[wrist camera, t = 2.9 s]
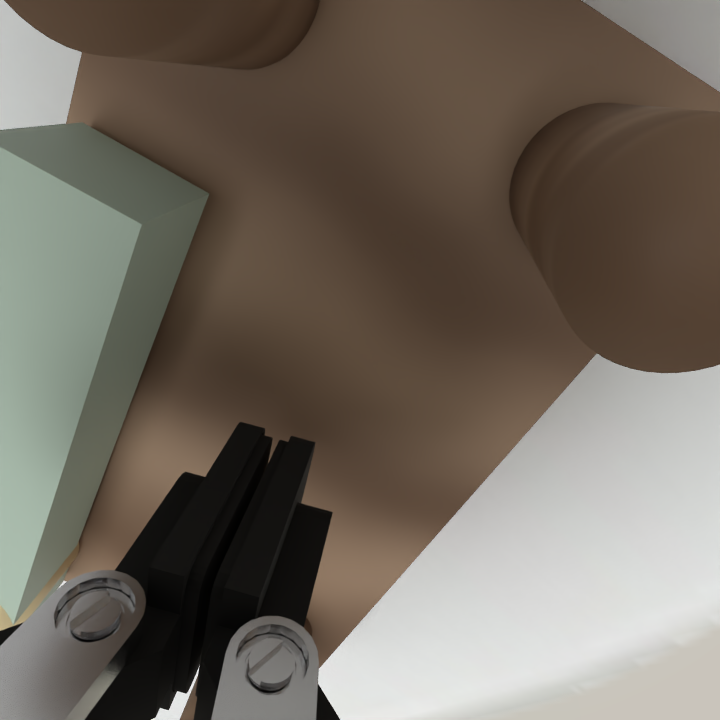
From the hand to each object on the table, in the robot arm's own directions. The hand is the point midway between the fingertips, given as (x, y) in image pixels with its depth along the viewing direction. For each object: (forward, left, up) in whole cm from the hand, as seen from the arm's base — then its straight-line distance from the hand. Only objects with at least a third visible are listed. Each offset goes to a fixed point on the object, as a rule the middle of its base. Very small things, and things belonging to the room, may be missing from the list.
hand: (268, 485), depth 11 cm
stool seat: (0, -1, -5) cm, 5 cm away
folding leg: (+3, -6, -3) cm, 7 cm away
